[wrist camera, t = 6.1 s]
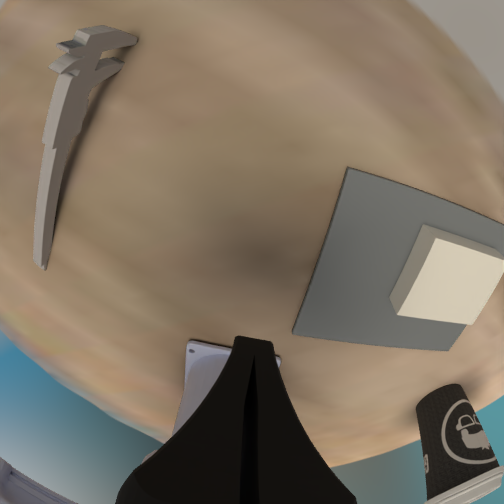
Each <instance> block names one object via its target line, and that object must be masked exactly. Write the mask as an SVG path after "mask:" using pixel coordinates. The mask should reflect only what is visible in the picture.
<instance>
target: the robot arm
mask: <svg viewBox="0 0 504 504" xmlns="http://www.w3.org/2000/svg"><path fill="white" fill-rule="evenodd" d="M192 349H193V350H192ZM280 364H281V359H280V358H279V357H276V356H275V352H274V347H273V344H272V342H271V341H265V340H260V339H254V338H249V337H244V336H236V337H235V340H234V344H233V348H232V349H231V348H226V347H221V346H216V345H211V344H206V343H202V342H197V341H192V340H191V341H188V343H187V347H186V365H185V387H184V392H183V396H182V400H181V403H180V407H179V411H178V415H177V418H176V422H175V426H174V430H173V433H172V437H171V438H170V439H169V440H168V441H167V442H166V443H165V444H164V445H163V446H162V447H161V448H160V449H159V450H155V451H153V452H152V453H150V454H148V455H147V456H146V457H145V458H144V460H143V462H142V464H141V465H140V466H138V467H137V468H136V469H135V470H133V472H132V473H131V474H130V476H129V477H128V478H127V480H126V481H125V482H124V484H123V485H122V487H121V489H120V491H119V493H118V496H117V499H116V503H115V504H357V501H356V497H355V496H354V495H353V494H352V493H351V492H350V491H349V490H348V489H347V488H346V487H345V486H344V484H343V483H342V482H341V481H340V480H339V479H338V478H337V477H336V476H335V474H334V473H333V472H332V470H331V469H330V468H329V467H328V465H327V464H326V462H325V461H324V460H323V458H322V457H321V455H320V454H319V452H318V451H317V450H316V448H315V447H314V445H313V444H312V442H311V440H310V439H309V437H308V435H307V434H306V432H305V430H304V428H303V426H302V424H301V422H300V421H299V419H298V416H297V414H296V412H295V410H294V408H293V406H292V403H291V401H290V399H289V396H288V394H287V391H286V388H285V385H284V383H283V380H282V377H281V374H280V371H279V367H280ZM0 504H78V503H75V502H73V501H71V500H69V499H67V498H65V497H63V496H61V495H59V494H57V493H55V492H53V491H51V490H50V489H48V488H46V487H44V486H42V485H41V484H39V483H37V482H35V481H34V480H32V479H30V478H29V477H27V476H25V475H24V474H22V473H21V472H19V471H18V470H16V469H14V468H13V467H12V466H11V465H10V464H9V463H7V462H6V461H5V460H3V459H2V458H1V457H0Z"/></svg>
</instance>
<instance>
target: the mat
mask: <svg viewBox="0 0 504 504" xmlns="http://www.w3.org/2000/svg"><path fill="white" fill-rule="evenodd" d="M423 224H424V225H428V226H431V227H434V228H437V229H440V230H443V231H446V232H449V233H452V234H455V235H458V236H461V237H464V238H467V239H469V240H472V241H475V242H478V243H481V244H483V245H486V246H489V247H491V248H494V249H496V250H497V251H498V252H499V253H500V254H501V255H502V256H503V257H504V225H503V224H501V223H499V222H497V221H495V220H492V219H490V218H488V217H486V216H484V215H481V214H479V213H477V212H474V211H472V210H470V209H467V208H465V207H463V206H460V205H458V204H455V203H453V202H450V201H448V200H445V199H443V198H440V197H437V196H435V195H432V194H429V193H427V192H424V191H421V190H418V189H416V188H413V187H410V186H407V185H404V184H401V183H398V182H395V181H392V180H389V179H386V178H383V177H380V176H376V175H373V174H370V173H367V172H363V171H360V170H357V169H353V168H350V167H347V170H346V173H345V177H344V180H343V183H342V187H341V190H340V193H339V197H338V200H337V203H336V206H335V210H334V213H333V216H332V219H331V222H330V225H329V228H328V232H327V235H326V238H325V241H324V244H323V247H322V250H321V253H320V255H319V258H318V261H317V264H316V267H315V270H314V273H313V276H312V278H311V281H310V284H309V287H308V290H307V292H306V295H305V298H304V300H303V303H302V306H301V308H300V311H299V314H298V316H297V319H296V322H295V324H294V327H293V329H292V334H293V335H299V336H306V337H312V338H319V339H326V340H334V341H341V342H349V343H357V344H366V345H375V346H385V347H396V348H407V349H420V350H435V351H449V349H450V348H451V347H452V345H453V344H454V343H455V341H456V340H457V338H458V337H459V336H460V334H461V333H462V331H463V330H464V328H465V327H466V325H467V324H460V323H452V322H444V321H437V320H429V319H422V318H415V317H408V316H401V315H397V314H396V312H395V309H394V307H393V305H392V303H391V301H390V298H389V296H390V294H391V292H392V290H393V289H394V287H395V285H396V283H397V280H398V278H399V276H400V274H401V272H402V270H403V268H404V266H405V264H406V262H407V259H408V257H409V255H410V253H411V251H412V248H413V246H414V244H415V242H416V239H417V237H418V235H419V232H420V230H421V227H422V225H423Z"/></svg>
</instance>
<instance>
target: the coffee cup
mask: <svg viewBox="0 0 504 504" xmlns="http://www.w3.org/2000/svg"><path fill="white" fill-rule="evenodd" d="M416 412H417V418H418V424H419V430H420V436H421V442H422V450H423V457H424V466H425V476H426V486H427V487H426V488H427V501H426V502H425V503H424V504H469V503H472V502H473V501H476V500H478V499H480V498H481V497H483V496H485V495H487V494H489V493H490V492H492V491H494V490H495V489H497V488H498V487H500V486H501V477H502V476H503V472H504V466H499V464H498V461H497V459H496V457H495V454H494V452H493V450H492V448H491V446H490V443H489V442H488V439H487V437H486V435H485V432H484V430H483V428H482V426H481V424H480V422H479V420H478V418H477V416H476V414H475V412H474V410H473V408H472V406H471V404H470V402H469V400H468V398H467V396H466V394H465V392H464V391H463V389H462V387H461V386H460V385H458V384H451V385H447V386H444V387H441V388H439V389H437V390H435V391H433V392H432V393H430V394H429V395H427V396H426V397H425V398H423V399H422V400H421V401H420V402H419V404H418V405H417V407H416Z"/></svg>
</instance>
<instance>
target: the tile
mask: <svg viewBox="0 0 504 504" xmlns="http://www.w3.org/2000/svg"><path fill="white" fill-rule="evenodd" d="M503 272H504V257H503V256H502V255H501V254H500V253H499V252H498V251H497V250H496V249H494V248H491V247H489V246H486V245H483V244H481V243H478V242H475V241H472V240H469V239H467V238H464V237H461V236H458V235H455V234H452V233H449V232H446V231H443V230H440V229H437V228H434V227H431V226H428V225H424V224H423V225H422V227H421V230H420V232H419V235H418V237H417V239H416V242H415V244H414V246H413V248H412V251H411V253H410V255H409V257H408V259H407V262H406V264H405V266H404V268H403V270H402V272H401V274H400V276H399V278H398V280H397V283H396V285H395V287H394V289H393V290H392V292H391V294H390V296H389V298H390V301H391V303H392V305H393V307H394V309H395V312H396V314H397V315H401V316H408V317H415V318H422V319H429V320H437V321H444V322H452V323H460V324H469V325H472V324H473V323H474V321H475V320H476V318H477V317H478V315H479V314H480V312H481V310H482V309H483V307H484V306H485V304H486V302H487V301H488V299H489V297H490V296H491V294H492V292H493V291H494V289H495V287H496V285H497V283H498V282H499V280H500V278H501V276H502V274H503Z"/></svg>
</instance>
